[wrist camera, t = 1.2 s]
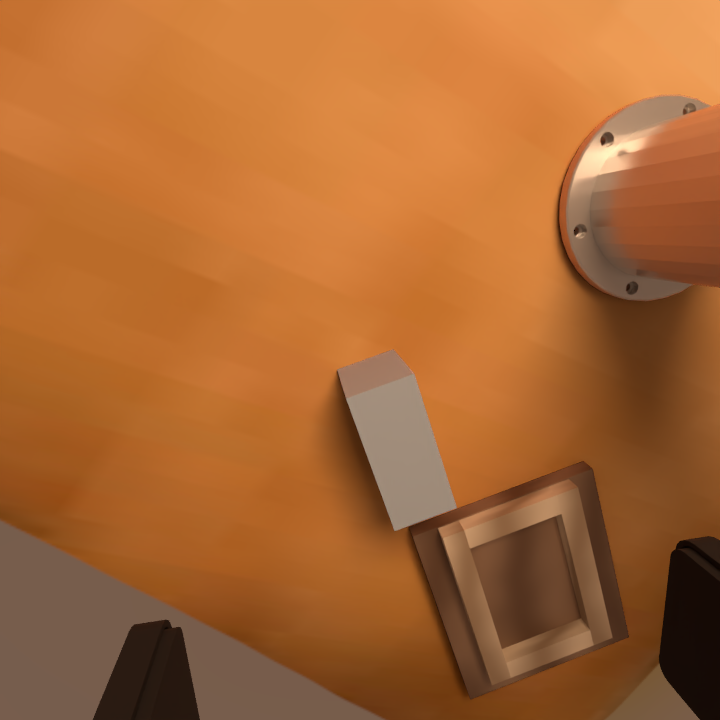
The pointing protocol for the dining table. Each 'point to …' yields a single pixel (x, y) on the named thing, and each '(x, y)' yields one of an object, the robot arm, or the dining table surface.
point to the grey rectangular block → (397, 438)
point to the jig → (523, 578)
